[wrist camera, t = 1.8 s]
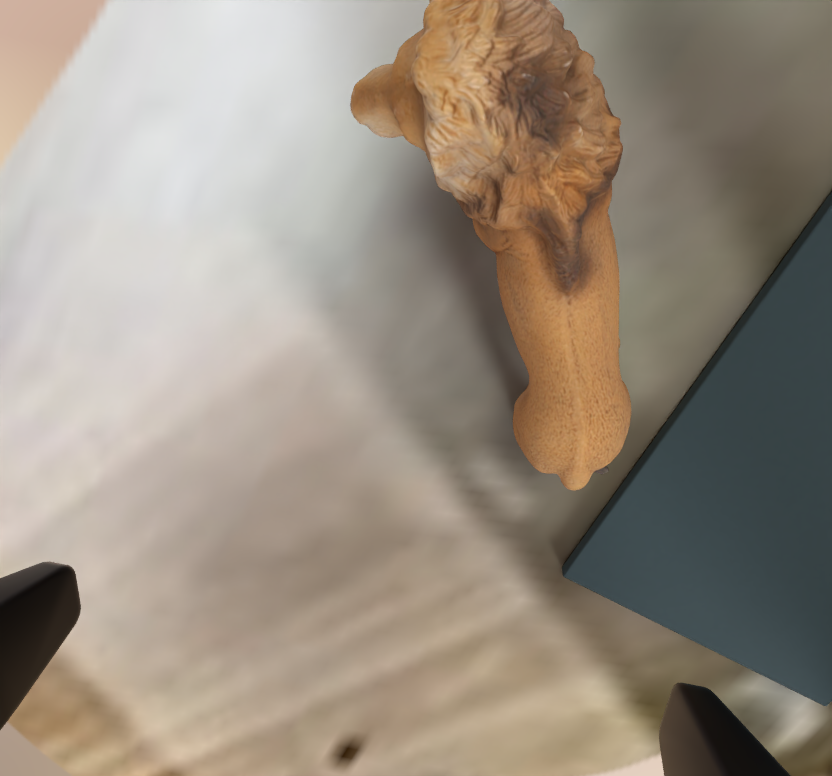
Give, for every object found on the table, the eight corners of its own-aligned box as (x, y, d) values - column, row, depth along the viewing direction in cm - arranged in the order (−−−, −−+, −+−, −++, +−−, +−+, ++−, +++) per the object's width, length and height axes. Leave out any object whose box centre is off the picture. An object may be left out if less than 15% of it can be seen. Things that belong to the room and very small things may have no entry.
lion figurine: (391, 108, 18) (284, 18, 9) (547, 27, 16) (590, -167, 8) (538, 483, 21) (558, 666, 13) (677, 443, 20) (803, 621, 11)
